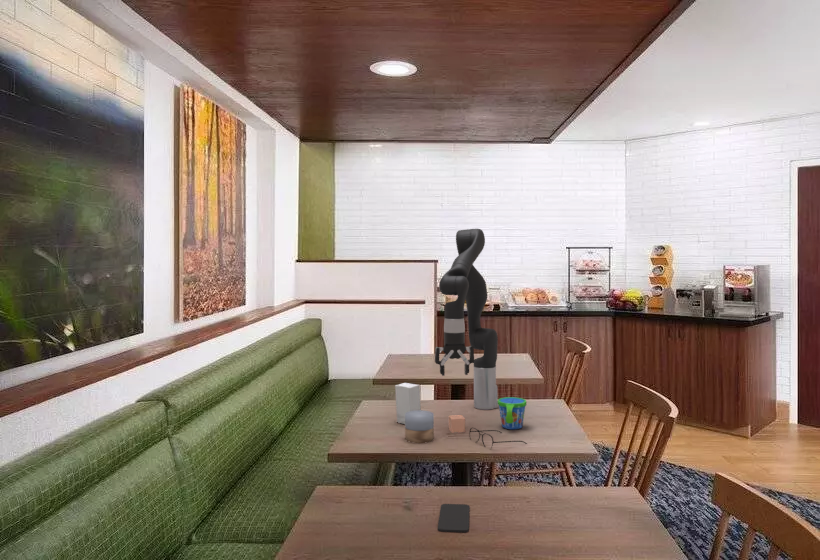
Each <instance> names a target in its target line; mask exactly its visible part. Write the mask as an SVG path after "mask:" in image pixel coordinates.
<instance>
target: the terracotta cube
mask: <svg viewBox="0 0 820 560" xmlns="http://www.w3.org/2000/svg"><path fill="white" fill-rule="evenodd" d="M448 430H449V432H450V433H451V434H455V433H454V432H458V433H466V418H465V417H464V416H463V415H462V414H460V415H458V414H457V415H455V414H453V415H448Z"/></svg>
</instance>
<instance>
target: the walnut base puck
mask: <svg viewBox="0 0 820 560" xmlns="http://www.w3.org/2000/svg"><path fill="white" fill-rule="evenodd" d="M434 427H435V426H434ZM434 427H433V428H432V429H430V430H425V431H413V430H408V429H406V428H405V427H404V437H405V439H406V440H407V441H406V440H405V439H404V440H405V441H406V442H408V441H410V442H409V443H412V442H415V443H414V444H425V442H427V443H431V442H433V441H434V440H433V439H435V437H434V436H435V433H434V432H435V430H434Z"/></svg>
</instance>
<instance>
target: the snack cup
mask: <svg viewBox="0 0 820 560" xmlns="http://www.w3.org/2000/svg"><path fill="white" fill-rule="evenodd" d="M526 406H527V400H526V399H525V398H523V397H522V398H521V397H516V396H515V397H513V396H510V397H509V396H508V397H506V396H505V397H501V398H498V409H499V417H500V422H501V426H502V428H504V429H506V430H519V429H521V428H522V427H524V426H523V424H524V419H525V412H526V411H525V410H526Z"/></svg>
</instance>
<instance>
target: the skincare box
mask: <svg viewBox="0 0 820 560" xmlns="http://www.w3.org/2000/svg"><path fill="white" fill-rule="evenodd" d="M420 390H421V389H420V384H415V383H408V382H403V383H399V384H395V385H394V391H395V407H396V408H395V410H396V423H397V422H398V424H401V425H402V424H403V425H405V413H407V412H409V411H416V410H422V409H421V393H420Z"/></svg>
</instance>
